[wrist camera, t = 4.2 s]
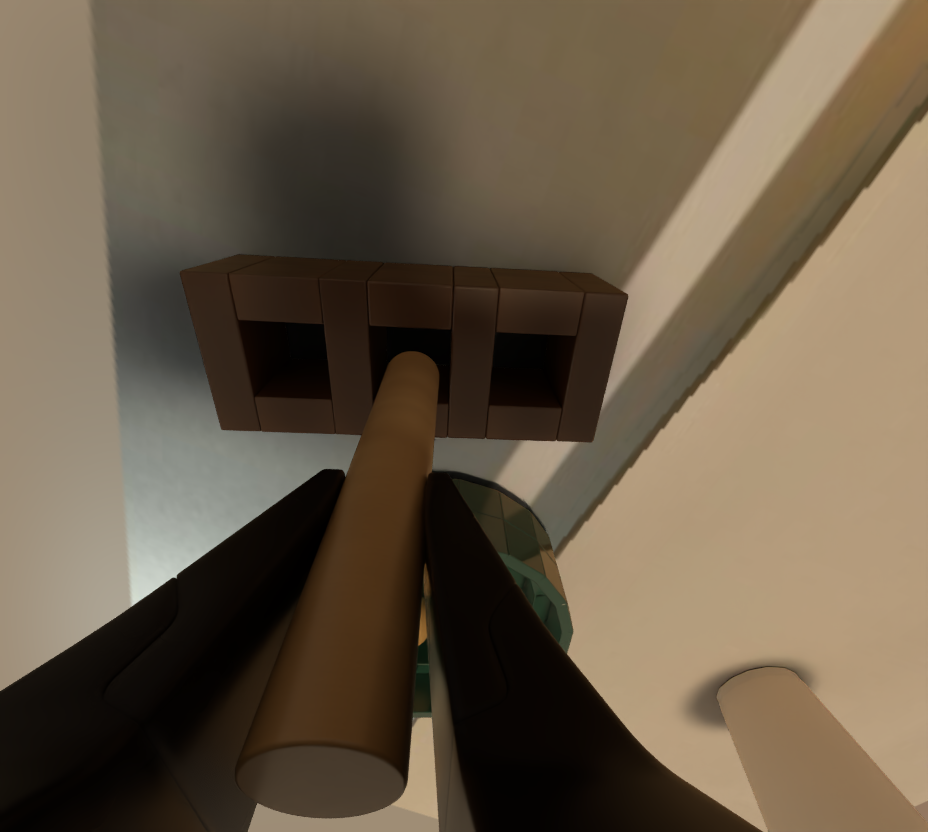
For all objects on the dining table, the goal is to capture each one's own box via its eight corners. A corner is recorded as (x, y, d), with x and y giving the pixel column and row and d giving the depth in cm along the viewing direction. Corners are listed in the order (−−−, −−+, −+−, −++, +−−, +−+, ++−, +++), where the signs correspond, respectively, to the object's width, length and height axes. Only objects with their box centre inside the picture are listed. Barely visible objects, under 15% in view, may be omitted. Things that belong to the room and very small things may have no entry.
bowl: (329, 635, 28) (306, 717, 24) (300, 466, 21) (261, 538, 17) (534, 637, 29) (548, 718, 24) (570, 474, 22) (599, 545, 17)
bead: (386, 613, 26) (378, 660, 23) (384, 581, 25) (376, 627, 22) (433, 613, 26) (431, 660, 24) (434, 582, 25) (432, 628, 22)
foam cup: (683, 679, 32) (812, 953, 20) (808, 639, 30) (1031, 920, 18) (714, 731, 36) (837, 984, 24) (826, 698, 34) (1019, 959, 22)
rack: (263, 386, 19) (220, 430, 15) (237, 254, 16) (177, 270, 13) (568, 398, 20) (593, 443, 16) (593, 273, 17) (629, 294, 13)
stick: (387, 398, 14) (250, 820, 5) (385, 349, 13) (212, 743, 4) (438, 400, 14) (408, 819, 5) (439, 351, 14) (405, 743, 4)
